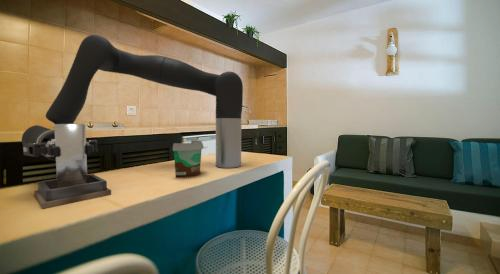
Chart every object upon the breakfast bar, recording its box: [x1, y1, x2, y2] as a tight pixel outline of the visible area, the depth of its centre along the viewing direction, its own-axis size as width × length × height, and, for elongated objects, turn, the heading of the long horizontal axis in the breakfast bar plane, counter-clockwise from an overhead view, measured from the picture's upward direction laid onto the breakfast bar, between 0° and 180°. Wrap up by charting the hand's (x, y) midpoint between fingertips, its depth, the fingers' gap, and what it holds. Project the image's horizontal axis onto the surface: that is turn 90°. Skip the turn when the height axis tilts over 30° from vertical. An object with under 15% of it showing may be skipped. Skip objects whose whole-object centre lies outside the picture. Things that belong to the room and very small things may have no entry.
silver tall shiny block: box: [53, 123, 88, 188], centre depth 49 cm, size 5×5×13 cm
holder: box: [33, 173, 112, 210], centre depth 50 cm, size 11×11×3 cm
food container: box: [172, 139, 205, 179], centre depth 69 cm, size 12×6×10 cm, turn 168°
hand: (73, 150), depth 48 cm, fingers closed on silver tall shiny block, 5 cm apart
